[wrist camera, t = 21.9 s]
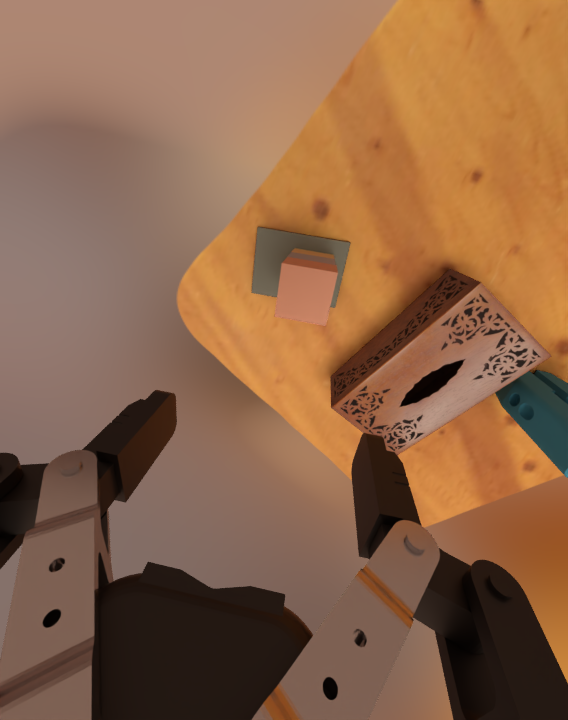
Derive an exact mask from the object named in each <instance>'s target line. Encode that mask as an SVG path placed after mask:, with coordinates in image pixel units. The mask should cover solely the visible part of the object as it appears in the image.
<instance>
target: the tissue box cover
mask: <svg viewBox="0 0 568 720" xmlns="http://www.w3.org/2000/svg"><path fill="white" fill-rule="evenodd" d="M550 357H551V355H550V354H549V353H548V352H547V351H546V350H545V349H544V348H543V347H542V346H541V345H540V344H539V343H538V342H537V341H536V340H535V338H534V337H533V336H532V335H531V334H530V333H529V332H528V331H527V330H526V329H525V328H524V327H523V326H522V325H521V324H520V323H519V322H518V321H517V320H516V319H515V318H514V317H513V315H512V314H511V313H510V312H509V311H508V310H507V309H506V308H505V307H504V306H503V305H502V304H501V303H500V302H499V301H498V300H497V299H496V298H495V297H494V296H493V295H492V294H491V292H490V291H489V290H488V289H487V288H486V287H485V286H484V285H483V284H482V283H481V282H479V281H476V280H474V279H472V278H470V277H468V276H465V275H463V274H461V273H459V272H456V271H454V270H452V269H449V270H448V271H447V272H446V273H445V274H444V275H443V276H442V277H441V278H439V279H438V280H437V281H436V282H435V283H434V284H433V285H432V286H431V287H429V288H428V289H427V290H426V291H425V292H424V293H423V294H422V295H421V296H419V297H418V298H417V299H416V300H415V301H414V302H413V303H412V304H411V305H409V306H408V307H407V308H406V309H405V310H404V311H403V312H402V313H401V314H400V315H398V316H397V317H396V318H395V319H394V320H393V321H392V322H391V323H390V324H388V325H387V326H386V327H385V328H384V329H383V330H382V331H381V332H380V333H378V334H377V335H376V336H375V337H374V338H373V339H372V340H371V341H370V342H368V343H367V344H366V345H365V346H364V347H363V348H362V349H361V350H360V351H358V352H357V353H356V354H355V355H354V356H353V357H352V358H351V359H350V360H348V361H347V362H346V363H345V364H344V365H343V366H342V367H341V368H340V369H338V370H337V371H336V372H335V373H334V374H333V375H332V376H331V408H332V409H334V410H335V411H336V412H337V413H339V414H340V415H341V416H343V417H344V418H345V419H346V420H348V421H349V422H350V423H352V424H353V425H354V426H355V427H357V428H358V429H359V430H360V431H362V432H363V433H368V434H373V435H378V436H382V437H383V438H384V442H385V446H386V450H387V451H392V452H395V454H396V455H399V454H400V453H402V452H403V451H405V450H406V449H408V448H409V447H411V446H413V445H414V444H416V443H417V442H419V441H420V440H422V439H423V438H425V437H427V436H428V435H430V434H431V433H433V432H434V431H436V430H437V429H439V428H441V427H442V426H444V425H445V424H447V423H448V422H450V421H452V420H453V419H455V418H456V417H458V416H459V415H461V414H462V413H464V412H466V411H467V410H469V409H470V408H472V407H473V406H475V405H476V404H478V403H480V402H481V401H483V400H484V399H486V398H487V397H489V396H490V395H492V394H494V393H495V392H497V391H498V390H500V389H501V388H503V387H505V386H506V385H508V384H509V383H511V382H512V381H514V380H515V379H517V378H519V377H520V376H522V375H523V374H525V373H526V372H528V371H529V370H531V369H533V368H534V367H536V366H537V365H539V364H540V363H542V362H543V361H545V360H547V359H548V358H550ZM453 369H454V370H453Z"/></svg>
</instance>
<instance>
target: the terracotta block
mask: <svg viewBox="0 0 568 720" xmlns="http://www.w3.org/2000/svg"><path fill="white" fill-rule="evenodd" d="M337 275H338V270H337V265H332V264H327V263H321V262H315V261H309V260H304V259H298V258H292V257H287V258H286V259H285V260H284V261H283V262H282V265H281V272H280V280H279V287H278V295H277V302H276V309H275V317H280V318H285V319H291V320H296V321H301V322H307V323H312V324H318V325H323V326H326V323H327V319H328V314H329V310H330V306H331V301H332V297H333V292H334V288H335V284H336V279H337Z"/></svg>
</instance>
